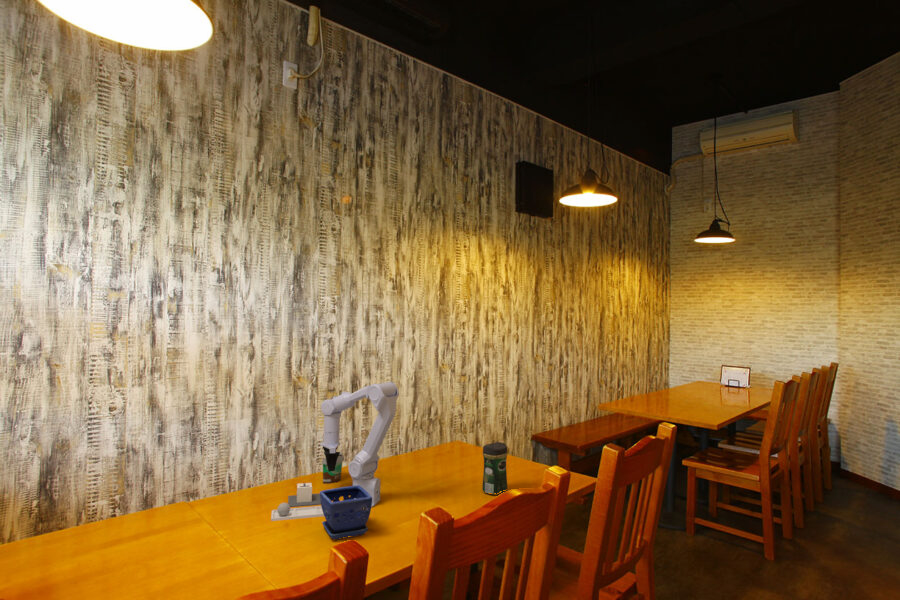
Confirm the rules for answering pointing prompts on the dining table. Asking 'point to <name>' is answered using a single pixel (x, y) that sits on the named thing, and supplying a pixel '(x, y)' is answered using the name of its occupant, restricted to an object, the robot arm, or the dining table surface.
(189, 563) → the dining table surface
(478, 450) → the dining table surface
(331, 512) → the flower pot
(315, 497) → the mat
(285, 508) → the grey ball
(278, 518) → the sorting tray
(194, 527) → the dining table surface
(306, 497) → the letter cube
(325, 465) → the food container
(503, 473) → the coffee jar
